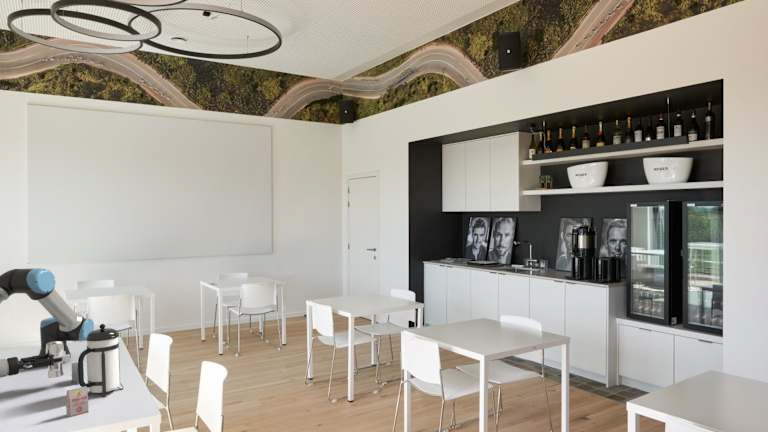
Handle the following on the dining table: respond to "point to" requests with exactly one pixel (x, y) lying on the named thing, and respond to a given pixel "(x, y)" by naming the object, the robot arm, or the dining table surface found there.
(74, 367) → the block
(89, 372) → the coffee press
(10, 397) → the dining table surface
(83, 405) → the printed carton
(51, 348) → the beer glass
